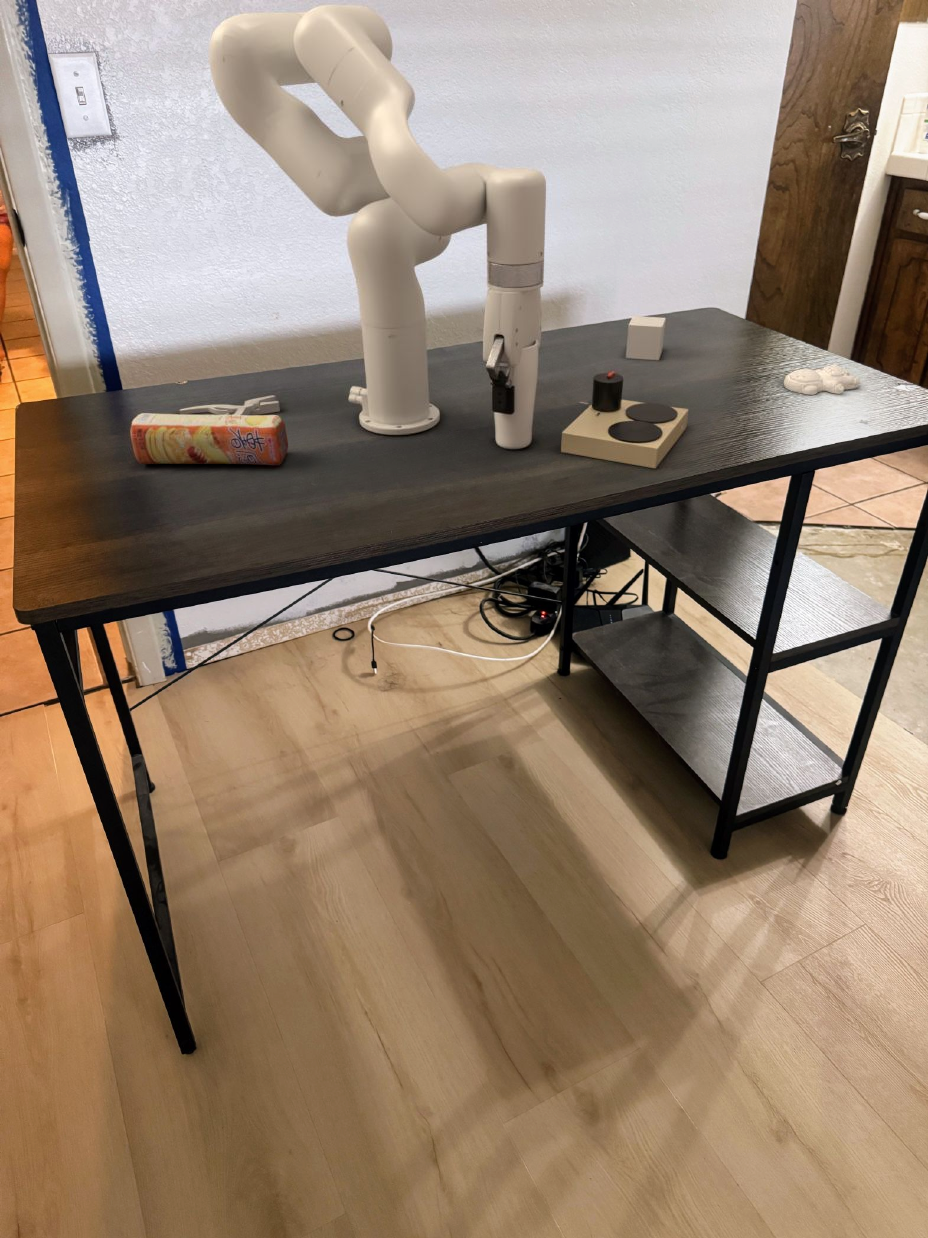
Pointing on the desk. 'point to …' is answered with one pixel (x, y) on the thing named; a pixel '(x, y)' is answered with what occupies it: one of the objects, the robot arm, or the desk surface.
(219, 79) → the robot arm
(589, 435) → the hot plate
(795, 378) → the astronaut figurine
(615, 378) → the hob knob
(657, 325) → the white cube
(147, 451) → the snack package
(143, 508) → the desk surface
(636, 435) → the burner
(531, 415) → the drinking glass
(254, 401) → the pliers
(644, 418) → the burner
